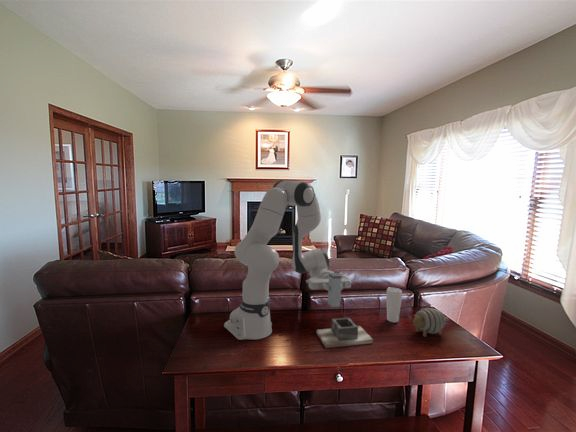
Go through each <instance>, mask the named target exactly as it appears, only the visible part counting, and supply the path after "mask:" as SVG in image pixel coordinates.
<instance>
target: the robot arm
mask: <svg viewBox="0 0 576 432" xmlns="http://www.w3.org/2000/svg"><path fill="white" fill-rule="evenodd" d="M288 205H289V206H295V207H296V213H297V220H296V223H295V225H294V226H292V227H293V228H292V258H291V265H292V269H293V271H294V272H295V273H297V274H299V275H302V274H305V273H308V272H309V271H310V272H309V275H310V278H308V279H306V280H305V283H306V284H308V288H309V289H310V290H312V291H314V290H326V291H331V287H330V286H329V273H338V274H339V275H341V291H343V289H350V288H351V287H352V280H351V279H350V278H349V277H348V276H346V275H344V274H343V272H340V271H333V270H329V267H330V259H329V256H328V254H327V252H326V251H325V250H324V249H322V248H321V247H318V248H315V249H314V248H313V249H311V250H308V251H305V252H302V250H303V248H302V246H303V243H302V242H303V239H304V238H305V237H306V236H307V235H308V234H310V233H312V231H314V230H315V229H317V227H318V226H319V225H320V223H321V217H322V216H321V209H320V208H321V207H320V203H319V201H318V198H317V195H316V193H315V190H314V187H313V186H312V185H311V184H310V183H307V182H306V181H305V182H303V181H296V180H278V181H277V182H275V183H274V184H273V186H272V187H270V188H269V189H268V190H267V191H266V192H265V194H264V196H263V198H262V200H261V202H260V203H259V206H258V209H257V212H256V215H255V218H254V220H253V222H252V225H251V226H250V229H249V231H248V232H247V233H246V235H245V236H244V238H243V239H242V240H240V241H239V242H238V243H237V244H236V246H235V247H234V257H235V258H236V259H237V260H238V261H239V263H241V264H242V265H244V266H246V267H247V269H248V271H247V276H246V277H245V279H244V280H243V281H242V298H241V299H239V300H238V303H240V304H239V306H238V307H237V308H235V309H234V310H233V311H231V312H230V315H229V319H228V320H227V321H225V322H224V324H223V328H225V329H226V330H227V331H228V332H229V333H231V334H232V336H234V337H235V338H236V339H237V340H241V341H242V340H261V339H264V338H267V337H268V336H270V335H271V334H272V333H273V329H272V326H273V322H272V321H271V310H270V305H271V304H270V303H271V302H270V298H269V295H270V294H269V290H270V286H269V285H270V280H271V277H272V273H273V272H274V271H275V270H276V269H277V268H278V267H279V263H280V255H279V253H278V252H277V250H276V249H274V248H272V247H271V246H270V245H268V243H269V241H271V239H272V238H273V237H275V236H276V235H277V234H278V232H279V229H280V227H281V224H282V221H283V218H284V215H285V212H286V209H287V206H288Z"/></svg>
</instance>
